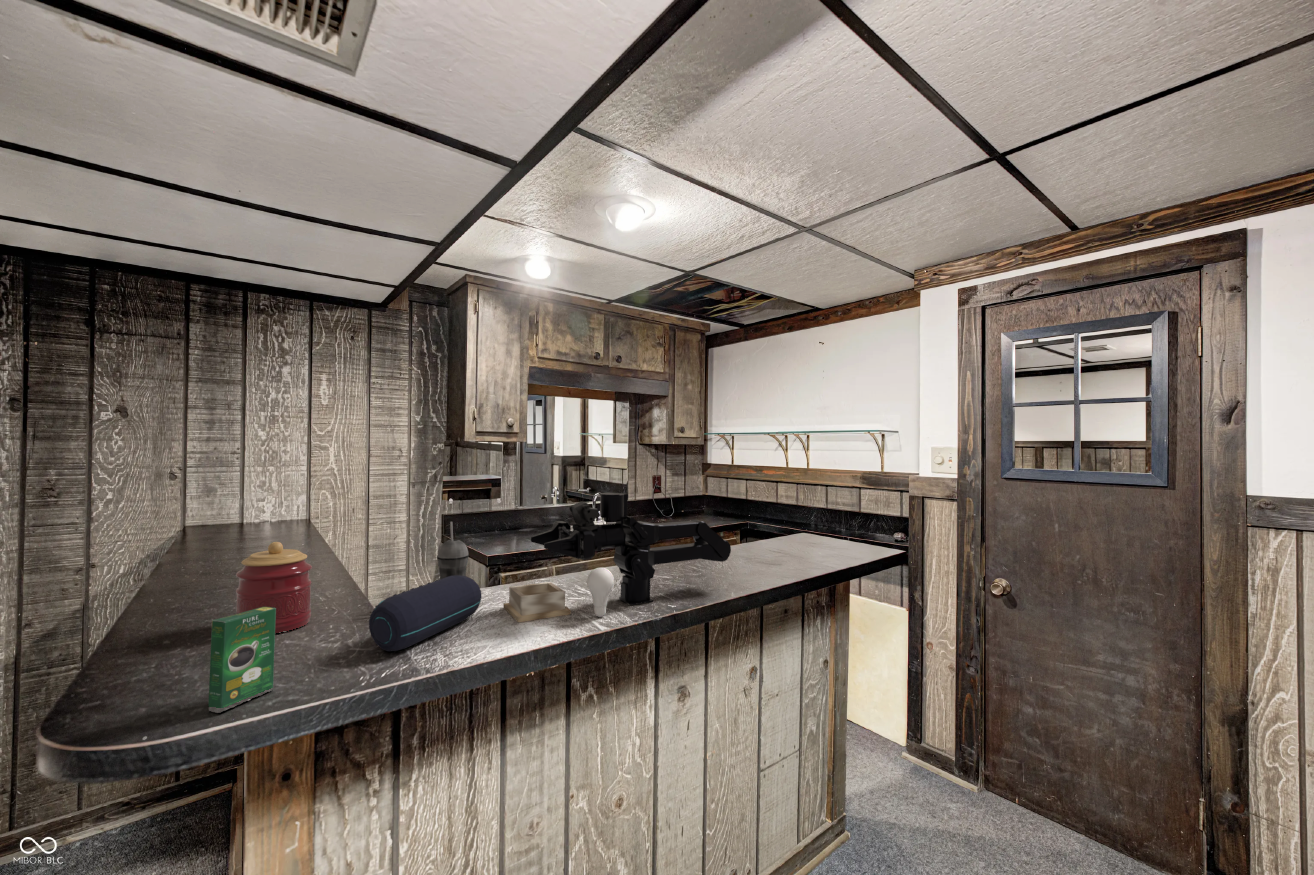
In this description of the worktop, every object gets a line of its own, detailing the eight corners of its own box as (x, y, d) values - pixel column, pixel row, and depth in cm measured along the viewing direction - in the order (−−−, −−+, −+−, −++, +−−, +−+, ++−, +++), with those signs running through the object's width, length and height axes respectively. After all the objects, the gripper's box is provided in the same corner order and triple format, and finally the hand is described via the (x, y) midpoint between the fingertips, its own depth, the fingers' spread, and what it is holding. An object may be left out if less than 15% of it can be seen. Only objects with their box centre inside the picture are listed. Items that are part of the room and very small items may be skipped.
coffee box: (262, 688, 86) (263, 604, 86) (275, 690, 85) (277, 606, 85) (206, 712, 78) (208, 620, 78) (221, 715, 77) (223, 622, 77)
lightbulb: (619, 615, 123) (619, 566, 123) (602, 623, 118) (603, 572, 118) (597, 611, 126) (597, 563, 126) (580, 618, 121) (581, 568, 121)
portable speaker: (448, 613, 124) (449, 569, 124) (486, 618, 121) (486, 573, 121) (357, 654, 100) (357, 599, 100) (401, 661, 97) (402, 604, 97)
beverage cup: (473, 601, 133) (474, 519, 133) (460, 610, 126) (461, 523, 126) (445, 600, 134) (446, 518, 134) (430, 609, 126) (431, 522, 127)
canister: (324, 622, 117) (326, 539, 117) (259, 642, 105) (260, 550, 105) (287, 613, 122) (288, 534, 122) (220, 631, 110) (222, 544, 111)
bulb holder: (552, 600, 134) (552, 580, 134) (570, 614, 124) (570, 592, 124) (503, 607, 128) (503, 586, 128) (518, 622, 118) (518, 599, 118)
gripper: (585, 499, 138) (524, 502, 130) (618, 506, 122) (552, 511, 114) (585, 543, 138) (524, 549, 130) (618, 556, 122) (551, 564, 114)
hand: (537, 542), depth 122 cm, fingers open, 9 cm apart
